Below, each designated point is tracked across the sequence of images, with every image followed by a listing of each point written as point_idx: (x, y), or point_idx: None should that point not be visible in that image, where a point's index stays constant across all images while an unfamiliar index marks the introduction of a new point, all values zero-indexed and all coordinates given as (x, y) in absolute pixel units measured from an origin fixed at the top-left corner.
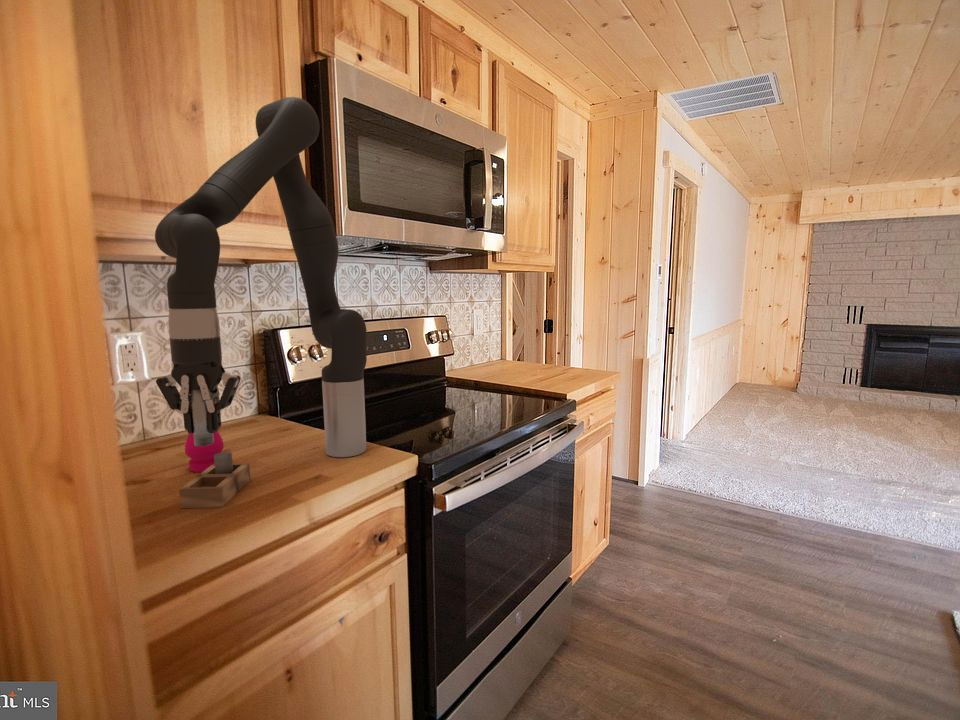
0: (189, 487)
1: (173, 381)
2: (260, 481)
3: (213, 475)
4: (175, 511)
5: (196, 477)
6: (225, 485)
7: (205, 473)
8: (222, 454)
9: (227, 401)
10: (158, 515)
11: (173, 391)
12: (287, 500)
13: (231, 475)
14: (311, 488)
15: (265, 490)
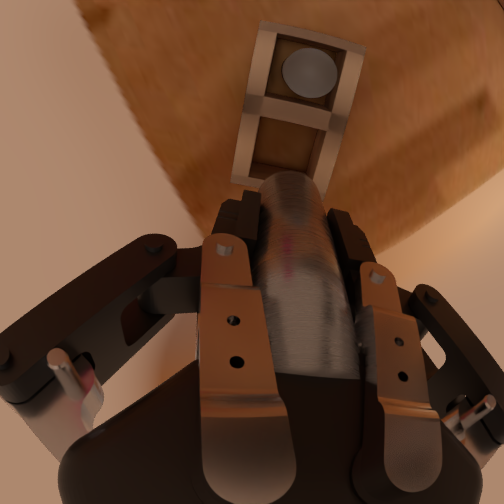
0: (250, 176)
1: (89, 410)
2: (377, 67)
3: (287, 111)
4: (229, 177)
5: (245, 113)
6: (328, 179)
7: (260, 89)
8: (309, 73)
9: (424, 359)
10: (204, 186)
11: (110, 346)
12: (426, 192)
13: (335, 126)
14: (467, 155)
15: (392, 126)
